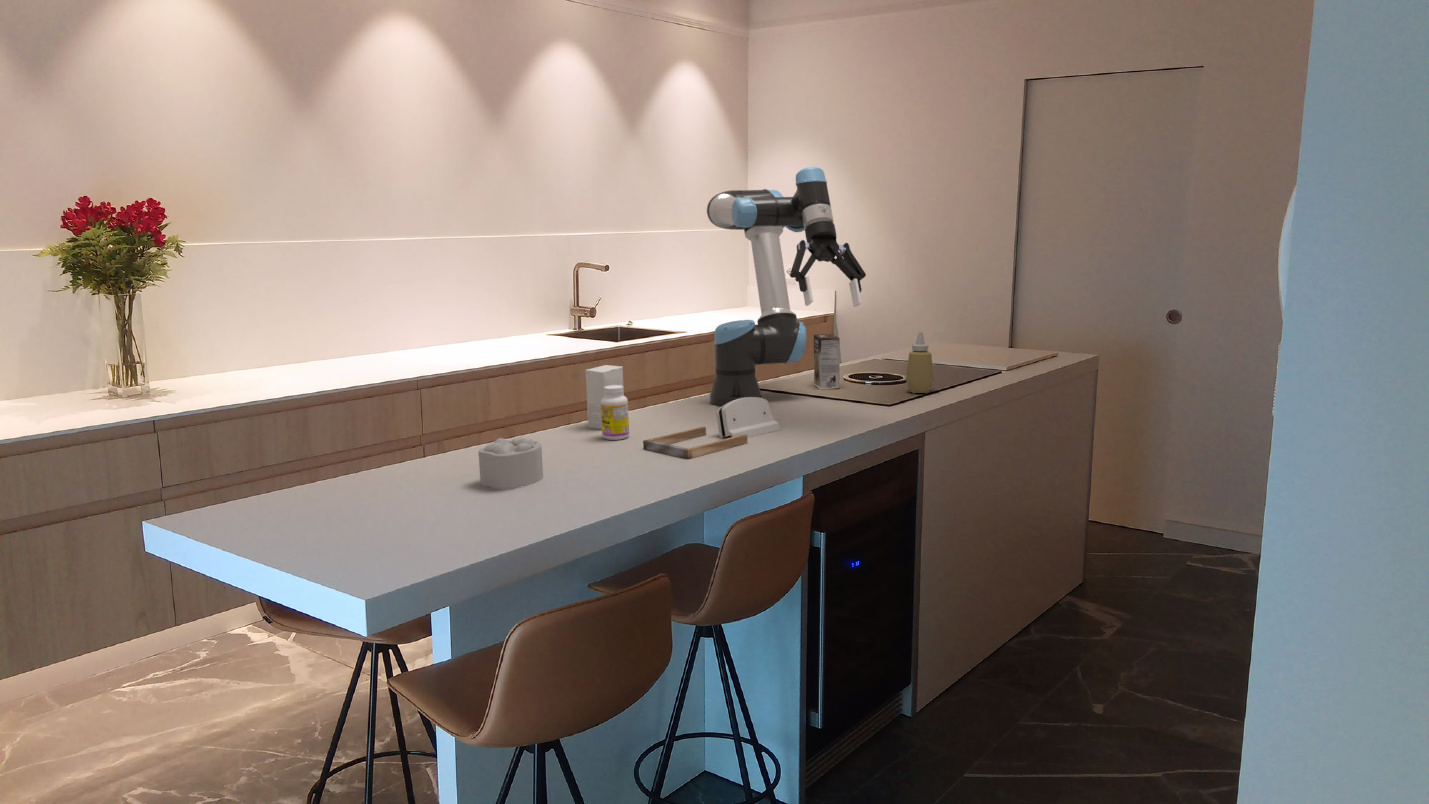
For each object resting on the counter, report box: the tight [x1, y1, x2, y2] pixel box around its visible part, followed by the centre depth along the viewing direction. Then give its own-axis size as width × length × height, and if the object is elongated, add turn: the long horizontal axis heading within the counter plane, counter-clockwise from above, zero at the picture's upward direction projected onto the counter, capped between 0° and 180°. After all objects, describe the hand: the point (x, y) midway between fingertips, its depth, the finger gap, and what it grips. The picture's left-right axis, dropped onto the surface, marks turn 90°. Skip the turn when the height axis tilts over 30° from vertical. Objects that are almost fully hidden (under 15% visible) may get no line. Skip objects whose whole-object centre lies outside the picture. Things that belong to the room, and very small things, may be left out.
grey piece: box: [715, 397, 781, 439], centre depth 238 cm, size 17×5×10 cm, turn 132°
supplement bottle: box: [601, 385, 630, 441], centre depth 236 cm, size 7×7×13 cm
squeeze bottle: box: [905, 332, 935, 394], centre depth 285 cm, size 8×8×18 cm
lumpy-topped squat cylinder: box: [478, 436, 544, 491], centre depth 200 cm, size 10×13×9 cm
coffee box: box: [813, 333, 841, 388], centre depth 298 cm, size 9×6×16 cm
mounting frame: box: [642, 426, 749, 460], centre depth 226 cm, size 15×20×2 cm
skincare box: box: [585, 364, 625, 431], centre depth 249 cm, size 8×7×16 cm
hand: (833, 304), depth 234 cm, fingers open, 13 cm apart
